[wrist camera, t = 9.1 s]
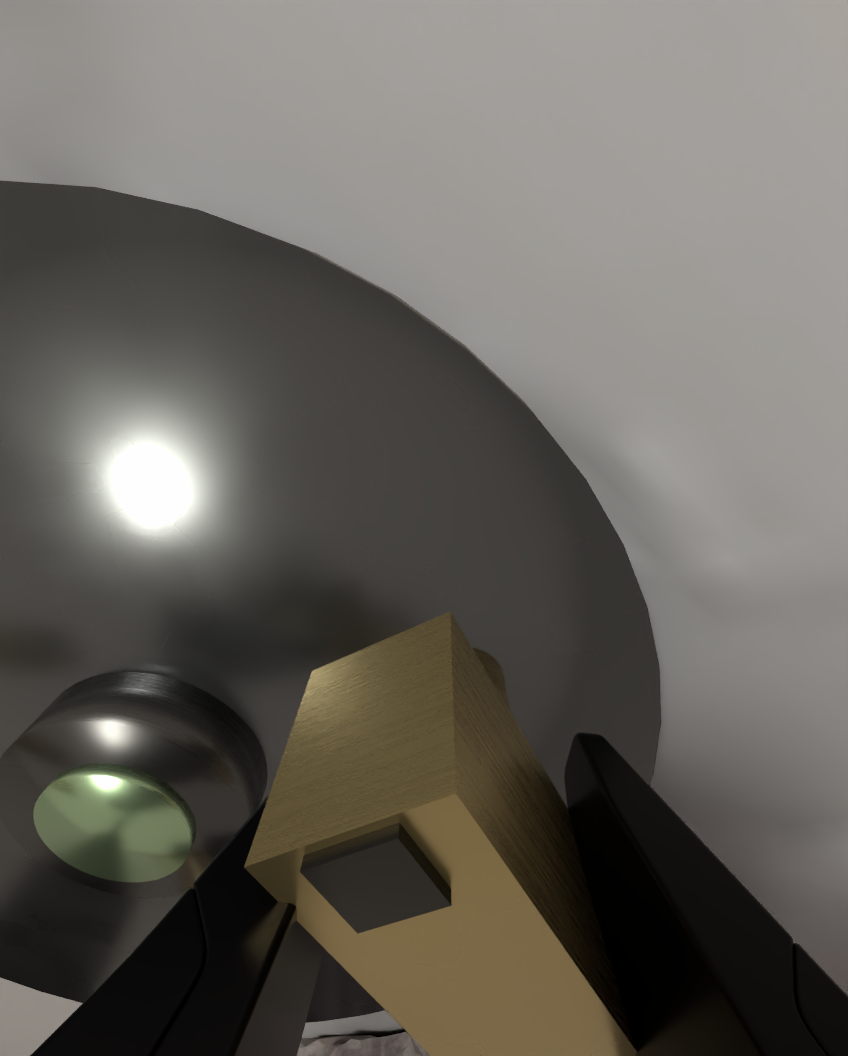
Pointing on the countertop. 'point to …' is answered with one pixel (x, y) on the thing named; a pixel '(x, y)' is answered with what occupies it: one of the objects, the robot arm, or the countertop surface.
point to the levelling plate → (248, 553)
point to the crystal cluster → (362, 1046)
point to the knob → (439, 855)
